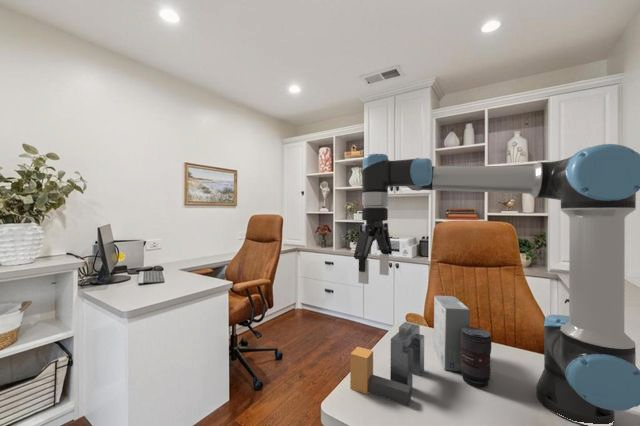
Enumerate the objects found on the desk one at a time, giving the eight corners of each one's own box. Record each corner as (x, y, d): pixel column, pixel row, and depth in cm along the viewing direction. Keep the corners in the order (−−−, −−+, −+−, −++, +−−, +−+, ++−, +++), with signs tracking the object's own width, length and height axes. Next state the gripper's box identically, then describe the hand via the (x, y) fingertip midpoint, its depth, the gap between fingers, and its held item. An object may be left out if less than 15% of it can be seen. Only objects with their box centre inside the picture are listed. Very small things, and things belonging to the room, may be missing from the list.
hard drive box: (470, 373, 89) (470, 309, 89) (444, 370, 90) (445, 308, 90) (454, 349, 104) (455, 295, 104) (432, 347, 105) (433, 294, 105)
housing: (424, 370, 90) (424, 320, 90) (407, 394, 78) (407, 336, 78) (408, 365, 93) (408, 316, 93) (390, 387, 81) (390, 332, 81)
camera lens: (495, 391, 79) (496, 338, 79) (464, 387, 81) (465, 335, 81) (485, 375, 87) (485, 327, 87) (457, 372, 89) (457, 324, 89)
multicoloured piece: (411, 397, 77) (411, 360, 77) (407, 408, 72) (407, 369, 72) (357, 379, 85) (357, 346, 85) (350, 388, 80) (350, 353, 80)
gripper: (381, 208, 96) (380, 270, 96) (341, 206, 76) (341, 285, 76) (402, 208, 91) (402, 273, 91) (366, 206, 71) (365, 289, 71)
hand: (374, 278), depth 84 cm, fingers open, 13 cm apart
